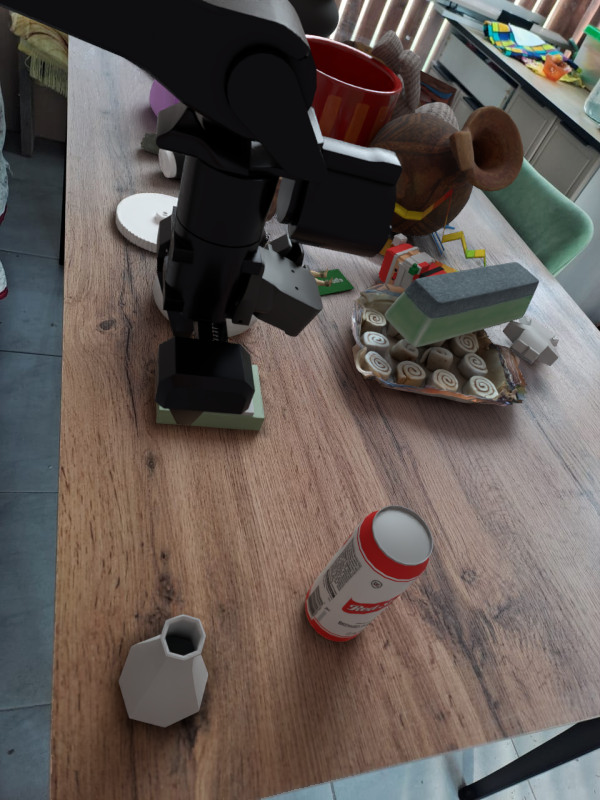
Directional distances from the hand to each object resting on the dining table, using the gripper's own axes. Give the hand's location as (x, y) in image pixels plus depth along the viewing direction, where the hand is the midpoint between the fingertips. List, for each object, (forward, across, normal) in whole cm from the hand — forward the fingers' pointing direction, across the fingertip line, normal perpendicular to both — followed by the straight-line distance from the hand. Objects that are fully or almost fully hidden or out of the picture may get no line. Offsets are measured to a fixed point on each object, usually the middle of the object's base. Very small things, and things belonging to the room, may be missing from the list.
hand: (182, 380), depth 48 cm
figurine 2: (+11, +34, -42) cm, 56 cm away
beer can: (+16, -14, -17) cm, 27 cm away
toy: (-5, +89, -37) cm, 96 cm away
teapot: (+16, +86, -7) cm, 88 cm away
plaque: (-3, +93, -51) cm, 106 cm away
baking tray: (+16, +22, -40) cm, 48 cm away
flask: (+16, -19, 0) cm, 25 cm away
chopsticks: (+16, +66, -56) cm, 88 cm away
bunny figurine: (+11, +23, -55) cm, 61 cm away
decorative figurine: (+16, +28, -6) cm, 33 cm away
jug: (+10, +67, -44) cm, 81 cm away
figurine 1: (+13, +34, -25) cm, 44 cm away
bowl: (+12, +98, -43) cm, 108 cm away
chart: (+16, +47, -47) cm, 69 cm away
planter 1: (+16, +78, -30) cm, 85 cm away
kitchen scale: (+16, +12, -6) cm, 20 cm away
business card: (+15, +36, -27) cm, 48 cm away
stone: (+16, +71, -2) cm, 73 cm away
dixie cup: (+13, +61, 0) cm, 63 cm away
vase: (+16, +118, -31) cm, 123 cm away
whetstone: (+2, +28, -44) cm, 52 cm away
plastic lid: (+13, +46, 0) cm, 48 cm away
